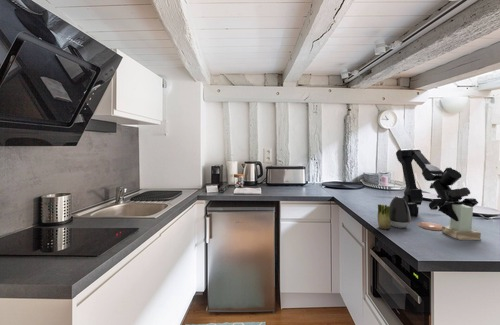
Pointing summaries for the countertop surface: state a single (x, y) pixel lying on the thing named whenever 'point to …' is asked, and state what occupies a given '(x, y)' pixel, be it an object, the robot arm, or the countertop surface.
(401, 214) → the grey smart speaker
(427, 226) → the pad
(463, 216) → the square plug
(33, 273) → the countertop surface
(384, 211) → the green drip glaze vase
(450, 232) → the square socket
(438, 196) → the robot arm
